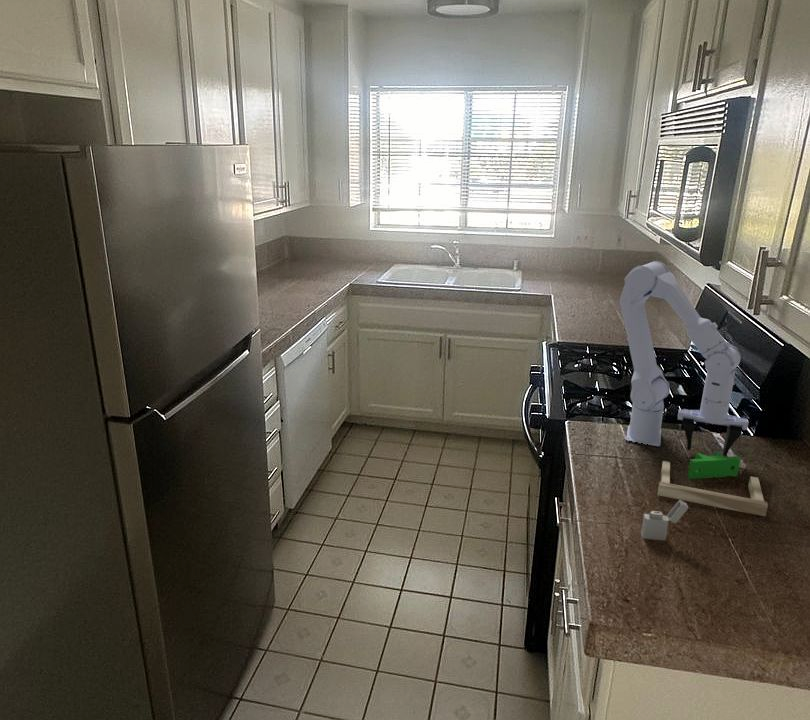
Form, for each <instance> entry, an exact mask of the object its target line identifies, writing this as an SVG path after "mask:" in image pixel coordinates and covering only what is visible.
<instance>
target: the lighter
mask: <svg viewBox="0 0 810 720" xmlns="http://www.w3.org/2000/svg"><path fill="white" fill-rule="evenodd" d="M688 509H689V506H688V503H687V502H685V501H684V500H679V499H678V501H677V502H676V503H675V504H674V505H673V507H672V508H671V510H669V512H668V513H667V515H664V514H663V512H662V511H660V510H659V511H656V510H652V511H651V512H649V513H644V514H643V517H642V525H641V529H640V535H641V538H642V539H643V540H656V541H666V538H667V535H668V534H667V532H668V526H669V521H670V522H671V523H673V524H677V523H678V521H679V520H680V519H681V518H682V517H683V515H684V514H685V513H686V512H687V510H688Z"/></svg>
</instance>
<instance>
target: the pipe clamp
mask: <svg viewBox="0 0 810 720" xmlns="http://www.w3.org/2000/svg"><path fill="white" fill-rule="evenodd" d="M741 459H742V458H740V457H739V456H723V453H720V452H719V451H715V452H714V455H712V456H710V455H705V454H703V453H701V452H696V455H695V458H690V461H689V466H688V473H687V477H688V479H690V480H697V479H711V478H712V479H713V477H715V478H728V477H727V476H732V477H737V476H738V474H739V470H740V465H741Z"/></svg>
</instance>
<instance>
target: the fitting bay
mask: <svg viewBox="0 0 810 720" xmlns="http://www.w3.org/2000/svg"><path fill="white" fill-rule="evenodd" d="M670 479H671V462H670V461H666V460H662V464H661V472H660V481H659V482H658V487H657V488H658V490H657V496H660V497H664V498H670V499H675V500H678V501H679V500H681V501H683V502H685V501H686V502H690V503H695V504H699V505H700V504H701V505H705V506H709V507H710V506H711V507H715V508H719V509H726V510H731V511H734V512H735V511H736V512H741V513H745V514H751V515H757V516H759V517H760V516H762V517H766V516H767V512H768V507H769V504H768V501H765V499H764V495H763V492H762V487H761V484H760V480H759V479H760V478H759V477H755V476H749V479H748V486H747V488H748V492H749V496H750V498H749V497H743V496H738V495H734V494H727V493H723V492H722V493H721V492H719V491H718V492H716V491H711V490H706V489H700V488H696V487H691V486H685V485H680V484H675V483H671V480H670Z"/></svg>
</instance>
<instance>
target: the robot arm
mask: <svg viewBox="0 0 810 720" xmlns="http://www.w3.org/2000/svg"><path fill="white" fill-rule="evenodd" d="M623 279H624V285H623V289H622V292H621V295H620V299H619V305H620V310H621V314H622V315H621V316H622V319H623V324H624V328H625V332H626V333H625V334H626V338H627V342H628V346H629V347H628V348H629V353H630V357H631V361H632V362H631V363H632V366H633V374H632V376H631V380H630V383H631V384H630V385H631V391H630V397H629V398H630V400H631V402H632V407H631V414H630V422H629V425H627V426H628V427H627V430H626V437H625V441H626V440H627V441H626V442H629V441H632V442H631V443H635V442H638V443H637V444H641V443H643V444H642V445H647V444H648V446H654V447H661V443H662V441H661V438H662V430H661V428H662V422H663V416H664V408H665V404H664V399H665V398H667V397H668V396H669V393H670V390H671V388H670V384H669V382H668V381H667V379H666V378H665V376H664V373H663V370H662V369H661V368H660V367H659V366H658V364H657V359H656V356H655V349H654V346H653V345H654V343H653V340H652V335H651V331H650V325H649V321H648V315H647V312H646V307H645V303H646V301H647V300H649V298H650V297H654V298H657V299H663V300H665V302H666V303H668V305H669V306H670V307H671V309H672V310H673V311H674V312H675V313H676V314H677V316H678V317H679V318H680V319H681V320H682V321H683V322H684V324H685V325H686V335H687V337H688V338H689V340H690V341H691V342H692V344H693V345H694V346H695V347H696V349H697V350H698V352H699V353H700V354H701V355H702V357H703V358H705V360H704V366H705V370H706V371H707V373H706V377H705V381H704V387H703V391H702V397H701V403H700V407H699V409H680V408H679V409H678V413H677V420H679V421H682V427H683V430H684V433H685V436H686V443H687V444H686V450H687V451H691V448H692V440H693V439H692V438H693V434H694V431H695V422H698V423H705V424H706V423H707V424H712V425H719V426H726V427H727V428H726V429H727V430H726V434H725V440H724V444H723V448H722V455H723V456H724V457H728V453H729V451H730V449H731V448H732V446H733V444H734V443H735V442H736V441H737V440H738V439H739V438H740V437H741V436H742V433H743V431H747V430H748V428H749V420H748V419H747V418H743V417H738V416H735V415H731V414H728V413H729V409H730V408H729V407H730V403H731V398H732V393H733V387H734V379H735V373H736V370H735V369H736V368H737V367H738V366H739V365H740V363H741V357H742V356H741V353H740V352H739V348H737V347H736V346H734V345H731V343H730V342H729V341H726V339H725V338H724V337H723V335H722V334H721V333H720V331H719V330H718V329H717V328H719V326H718V324H717V323H716V322H712V321H711V320H710V319H708V318H705V317H704V318H703V317H701V316H700V314H699V313H698V311H697V310H696V309H695V307H694V305H693V304H692V302H691V300H690V299H689V298H688V296H687V295H686V293H685V291H683V289H682V288H681V286H680V285H679V283H678V281H677V279H676V276H675V275H674V274H673V273H672V272H671V271H670V270H669V269H668V266H667V265H666V264H665V263H663V262H661V261H659V260H654V261H651V262H648V263H646V264H643V265H637V266H635V267H634V268H631V270H630V271H629V272H628V274H627V275H626V276H625V277H624V278H623Z"/></svg>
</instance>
